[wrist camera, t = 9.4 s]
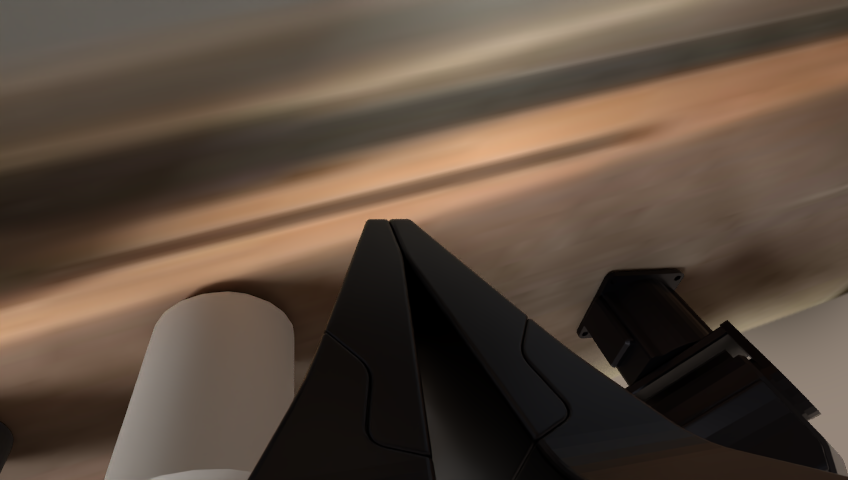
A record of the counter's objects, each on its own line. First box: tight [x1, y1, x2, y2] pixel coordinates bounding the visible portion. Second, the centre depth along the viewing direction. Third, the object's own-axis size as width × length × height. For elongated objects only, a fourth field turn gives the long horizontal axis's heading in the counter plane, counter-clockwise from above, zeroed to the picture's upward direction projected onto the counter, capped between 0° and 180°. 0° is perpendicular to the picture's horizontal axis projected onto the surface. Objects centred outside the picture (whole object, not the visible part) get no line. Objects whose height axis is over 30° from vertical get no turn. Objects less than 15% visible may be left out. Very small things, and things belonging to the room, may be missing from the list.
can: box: [104, 291, 294, 480], centre depth 21 cm, size 8×8×12 cm
